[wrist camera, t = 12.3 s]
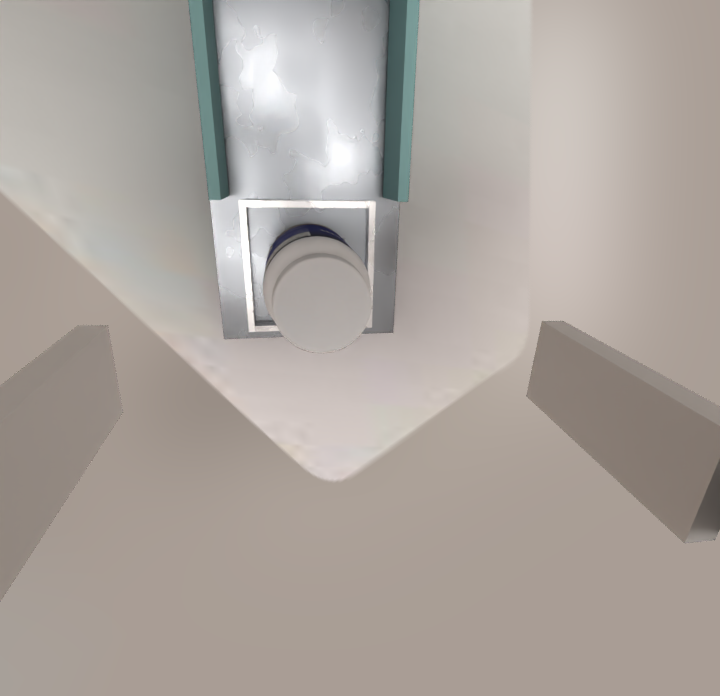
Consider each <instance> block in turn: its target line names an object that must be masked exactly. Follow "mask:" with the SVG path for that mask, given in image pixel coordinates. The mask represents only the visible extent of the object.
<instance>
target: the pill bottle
mask: <svg viewBox="0 0 720 696" xmlns="http://www.w3.org/2000/svg"><path fill="white" fill-rule="evenodd" d="M370 293H371V287H370V279H369V275H368V272H367V269H366V267H365V265H364V263H363V262H362V260H361V259H360V257H359V256H358V255H357V254H356V252H355V251H354V250H353V249H352V248H351V247H350V246H349V245H348V244H347V243H346V242H345V241H344V240H343V239H342V238H341V237H340V236H339V235H338V234H337V233H336V232H334V231H333V230H331V229H330V228H328V227H325V226H323V225H319V224H300V225H296V226H294V227H291V228H289V229H287V230H286V231H284V232H283V233H282V234H281V235H280V236H279V237H278V238H277V239H276V240H275V241H274V243H273V244H272V246H271V248H270V250H269V253H268V256H267V260H266V266H265V273H264V280H263V296H264V301H265V305H266V308H267V310H268V312H269V314H270V316H271V318H272V319H273V320H274V322H275V323H276V325H277V327H278V329H279V331H280V332H281V334H282V335H283V336H284V337H285V338H286V339H287V340H288V341H289V342H290V343H291V344H293V345H295V346H296V347H298V348H300V349H302V350H305V351H308V352H312V353H330V352H334V351H338V350H340V349H343V348H345V347H347V346H348V345H350V344H351V343H353V342H354V341H355V340H356V339H357V338H358V337H359V336H360V335H361V333H362V332H363V331H364V329H365V328H366V326H367V323H368V321H369V318H370V314H371V295H370Z"/></svg>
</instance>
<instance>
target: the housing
mask: <svg viewBox="0 0 720 696" xmlns="http://www.w3.org/2000/svg"><path fill="white" fill-rule="evenodd" d="M188 2H189V12H190V21H191V31H192V41H193V50H194V60H195V70H196V79H197V89H198V99H199V108H200V118H201V128H202V137H203V147H204V157H205V167H206V176H207V186H208V196H209V200H222V199H224V198H226V197H228V196H229V190H228V178H227V167H226V155H225V144H224V132H223V121H222V109H221V98H220V86H219V75H218V63H217V52H216V40H215V29H214V17H213V6H212V0H188ZM418 18H419V0H390V12H389V40H388V68H387V96H386V124H385V152H384V180H383V198H386V199H390V200H393V201H397V202H408V196H409V178H410V160H411V142H412V125H413V107H414V89H415V71H416V53H417V35H418Z"/></svg>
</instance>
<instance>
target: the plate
mask: <svg viewBox="0 0 720 696" xmlns="http://www.w3.org/2000/svg"><path fill="white" fill-rule="evenodd" d="M212 6H213V17H214V29H215V40H216V52H217V63H218V75H219V86H220V98H221V109H222V121H223V132H224V144H225V155H226V167H227V178H228V190H229V196H228V197H226V198H224V199H222V200H210V207H211V216H212V226H213V236H214V246H215V255H216V265H217V275H218V285H219V294H220V304H221V314H222V324H223V333H224V339H240V338H265V337H284V336H283V335H282V334H281V332H280V331H279V329H278V327H277V325H276V323H275V322H274V320H273V319H272V318H271V316H270V314H269V312H268V310H267V308H266V305H265V301H264V296H263V280H264V273H265V266H266V260H267V256H268V253H269V250H270V248H271V246H272V244H273V243H274V241H275V240H276V239H277V238H278V237H279V236H280V235H281V234H282V233H283V232H284V231H286V230H287V229H289V228H291V227H294V226H296V225H300V224H319V225H323V226H325V227H328V228H330V229H331V230H333V231H334V232H336V233H337V234H338V235H339V236H340V237H341V238H342V239H343V240H344V241H345V242H346V243H347V244H348V245H349V246H350V247H351V248H352V249H353V250H354V251H355V252H356V254H357V255H358V256H359V257H360V259H361V260H362V262H363V263H364V265H365V267H366V269H367V272H368V275H369V279H370V287H371V293H370V295H371V314H370V318H369V321H368V323H367V326H366V328H365V329H364V331H363V332H362V333H361V334H368V333H393V326H394V306H395V286H396V265H397V245H398V225H399V204H400V202H397V201H393V200H390V199H386V198H383V180H384V152H385V124H386V96H387V68H388V40H389V12H390V0H212Z"/></svg>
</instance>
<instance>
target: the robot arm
mask: <svg viewBox="0 0 720 696" xmlns="http://www.w3.org/2000/svg"><path fill="white" fill-rule="evenodd" d="M526 396H527V397H528V398H529V399H530V400H531V401H532V402H533V403H534V404H535V405H536V406H538V407H539V408H540V409H541V410H542V411H543V412H544V413H545V414H546V415H547V416H548V417H549V418H550V419H551V420H553V421H554V422H555V423H556V424H557V425H558V426H559V427H560V428H561V429H562V430H563V431H564V432H566V433H567V434H568V435H569V436H570V437H571V438H572V439H573V440H574V441H575V442H576V443H577V444H578V445H579V446H580V447H581V448H583V449H584V450H585V451H586V452H587V453H588V454H589V455H590V456H591V457H592V458H593V459H594V460H596V461H597V462H598V463H599V464H600V465H601V466H602V467H603V468H604V469H605V470H606V471H607V472H608V473H609V474H611V475H612V476H613V477H614V478H615V479H616V480H617V481H618V482H619V483H620V484H621V485H622V486H623V487H624V488H626V489H627V490H628V491H629V492H630V493H631V494H632V495H633V496H634V497H635V498H636V499H637V500H638V501H639V502H640V503H642V504H643V505H644V506H645V507H646V508H647V509H648V510H649V511H650V512H651V513H652V514H653V515H655V516H656V517H657V518H658V519H659V520H660V521H661V522H662V523H663V524H664V525H665V526H666V527H667V528H668V529H669V530H670V531H672V532H673V533H674V534H675V535H676V536H677V537H678V538H679V539H680V540H681V541H682V542H683V543H693V542H702V541H712V540H715V539H716V537H717V534H718V532H719V530H720V406H718V405H716V404H715V403H713V402H711V401H709V400H707V399H705V398H704V397H702V396H700V395H698V394H696V393H695V392H693V391H691V390H689V389H687V388H685V387H683V386H682V385H680V384H678V383H676V382H674V381H672V380H670V379H669V378H667V377H665V376H663V375H661V374H660V373H658V372H656V371H654V370H652V369H650V368H649V367H647V366H645V365H643V364H641V363H639V362H638V361H636V360H634V359H632V358H630V357H628V356H626V355H625V354H623V353H621V352H619V351H617V350H615V349H614V348H612V347H610V346H608V345H606V344H604V343H603V342H601V341H599V340H597V339H595V338H593V337H592V336H590V335H588V334H586V333H584V332H582V331H581V330H578V329H577V328H575V327H573V326H571V325H569V324H567V323H566V322H564V321H542V323H541V328H540V333H539V338H538V343H537V348H536V352H535V357H534V362H533V367H532V371H531V376H530V381H529V386H528V391H527V395H526ZM122 413H123V409H122V403H121V397H120V392H119V386H118V380H117V375H116V370H115V363H114V357H113V352H112V346H111V341H110V335H109V329H108V325H91V326H89V325H88V326H77V327H75V328H74V329H73V330H71V331H70V332H69V333H67V334H66V335H65V336H64V337H62V338H61V339H60V340H58V341H57V342H56V343H55V344H53V345H52V346H51V347H49V348H48V349H47V350H46V351H44V352H43V353H42V354H40V355H39V356H38V357H36V358H35V359H34V360H33V361H32V362H30V363H29V364H27V365H26V366H25V367H24V368H22V369H21V370H20V371H18V372H17V373H16V374H14V375H13V376H12V377H11V378H9V379H8V380H7V381H6V382H4V383H3V384H2V385H0V601H1V600H2V598H3V597H4V595H5V594H6V592H7V591H8V589H9V587H10V586H11V584H12V583H13V581H14V580H15V578H16V576H17V575H18V574H19V572H20V571H21V569H22V567H23V566H24V564H25V563H26V561H27V560H28V558H29V557H30V555H31V553H32V552H33V551H34V549H35V547H36V546H37V544H38V543H39V541H40V540H41V538H42V537H43V535H44V534H45V532H46V530H47V529H48V527H49V526H50V524H51V523H52V521H53V520H54V518H55V517H56V515H57V513H58V512H59V510H60V509H61V507H62V506H63V504H64V503H65V501H66V500H67V498H68V497H69V495H70V493H71V492H72V490H73V489H74V487H75V486H76V484H77V483H78V481H79V480H80V478H81V476H82V475H83V473H84V472H85V470H86V469H87V467H88V466H89V464H90V463H91V461H92V459H93V458H94V456H95V455H96V453H97V452H98V450H99V449H100V447H101V445H102V444H103V443H104V441H105V439H106V438H107V436H108V435H109V433H110V432H111V430H112V429H113V427H114V425H115V424H116V422H117V421H118V419H119V418H120V416H121V415H122Z"/></svg>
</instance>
